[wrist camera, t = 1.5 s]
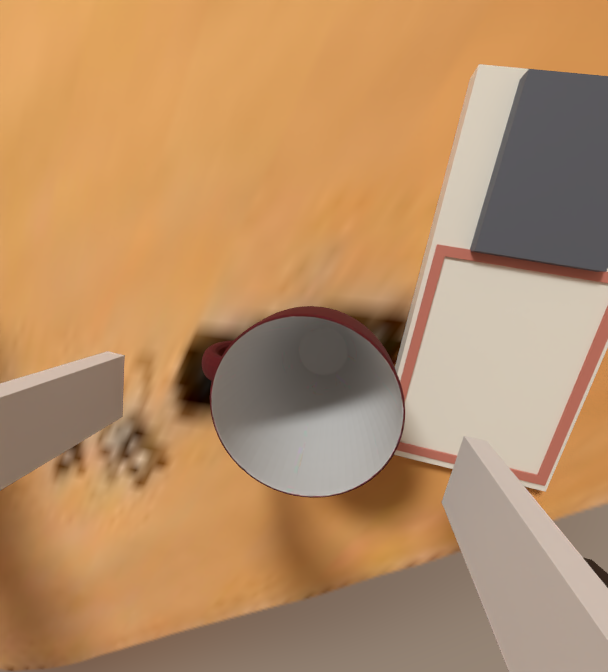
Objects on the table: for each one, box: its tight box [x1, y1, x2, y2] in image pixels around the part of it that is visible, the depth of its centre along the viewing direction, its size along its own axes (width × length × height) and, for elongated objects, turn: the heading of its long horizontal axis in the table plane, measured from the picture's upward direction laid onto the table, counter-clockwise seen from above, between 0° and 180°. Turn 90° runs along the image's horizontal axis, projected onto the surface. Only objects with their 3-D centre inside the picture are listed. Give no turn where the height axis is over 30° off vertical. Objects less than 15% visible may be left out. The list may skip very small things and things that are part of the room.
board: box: [394, 64, 608, 492], centre depth 18 cm, size 12×24×2 cm, turn 170°
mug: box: [202, 306, 405, 497], centre depth 17 cm, size 10×8×10 cm
